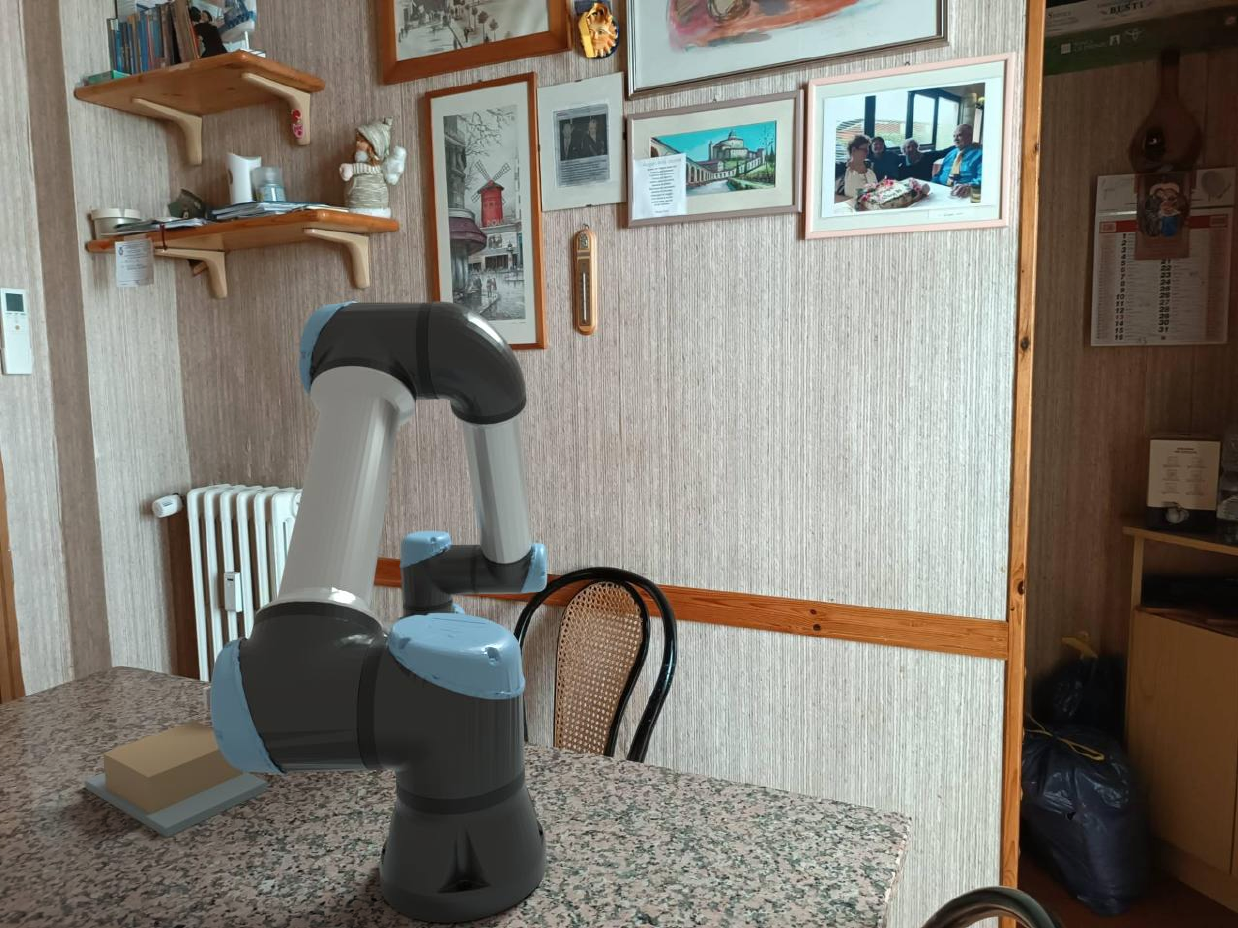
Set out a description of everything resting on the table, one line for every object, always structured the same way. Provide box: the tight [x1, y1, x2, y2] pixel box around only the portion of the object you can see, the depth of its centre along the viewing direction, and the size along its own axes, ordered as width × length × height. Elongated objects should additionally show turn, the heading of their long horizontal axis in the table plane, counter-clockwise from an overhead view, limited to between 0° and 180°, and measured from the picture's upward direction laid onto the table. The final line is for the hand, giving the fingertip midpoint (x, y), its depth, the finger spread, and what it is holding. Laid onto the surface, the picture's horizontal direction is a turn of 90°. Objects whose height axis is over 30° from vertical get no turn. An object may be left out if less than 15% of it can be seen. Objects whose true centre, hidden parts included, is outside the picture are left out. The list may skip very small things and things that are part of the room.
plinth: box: [84, 719, 269, 838], centre depth 89 cm, size 18×11×5 cm, turn 56°
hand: (224, 706), depth 96 cm, fingers closed on canned food, 8 cm apart
